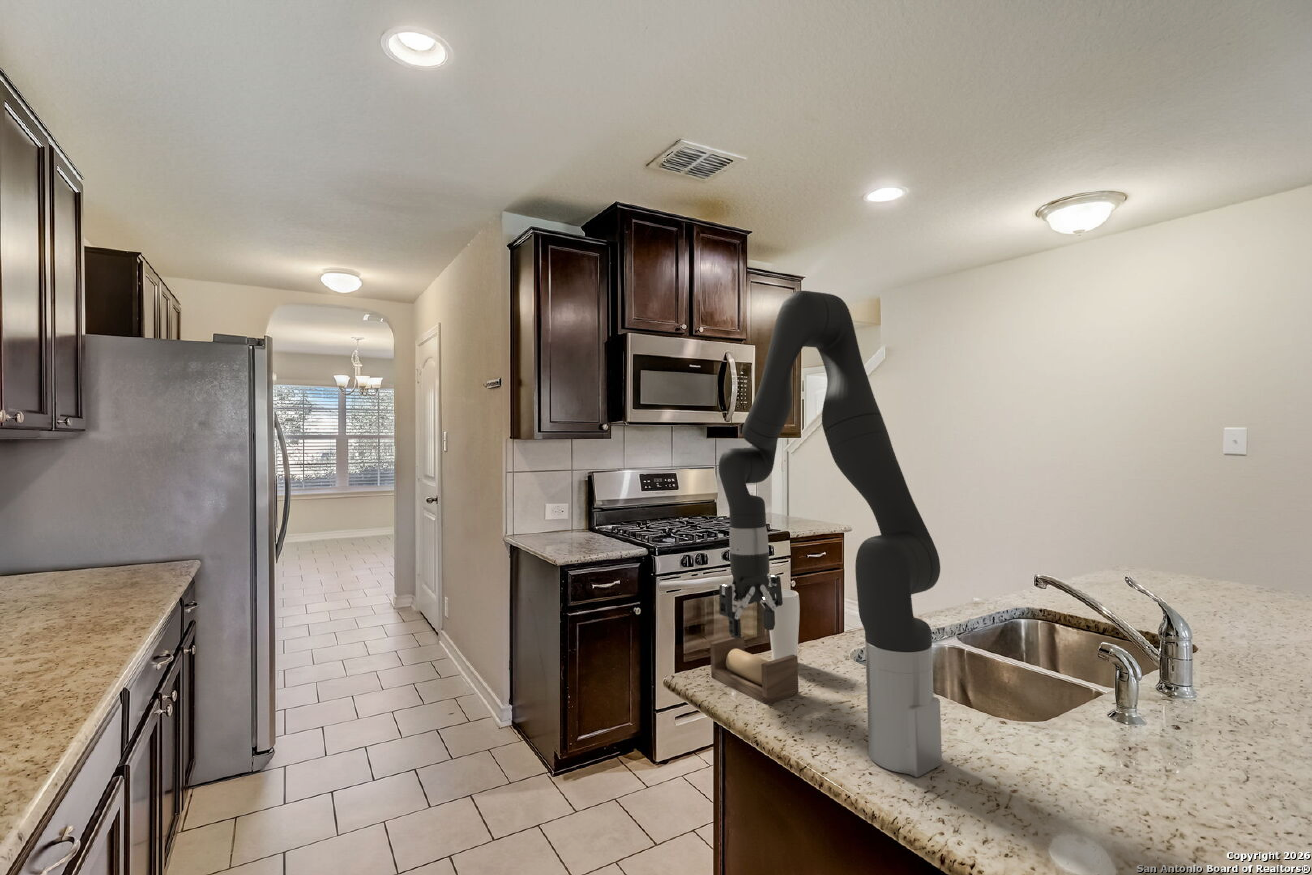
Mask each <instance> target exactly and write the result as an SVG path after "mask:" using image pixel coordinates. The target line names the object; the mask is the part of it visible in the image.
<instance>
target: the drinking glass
mask: <svg viewBox="0 0 1312 875" xmlns="http://www.w3.org/2000/svg"><path fill="white" fill-rule="evenodd" d="M781 590H782V601H783V604H782V605H781V606H778V607H776V610H775V626H774V629H773V630H768V631H769V640H770V649H771V650H770V651H771V661H773V660H776V659H779V658H783V657H786V656H789V655H796V656H798V650H799V649H798V648H799V629H800V628H799V627H800V611H801V609H800V596H799V593H798V592H797V591H796V590H793V589H792V590H791V589H783V588H781ZM768 593H769V591H768ZM775 598H776V594H775ZM798 657H799V656H798Z"/></svg>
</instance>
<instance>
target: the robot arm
mask: <svg viewBox="0 0 1312 875" xmlns="http://www.w3.org/2000/svg"><path fill="white" fill-rule="evenodd" d="M773 327H774V328H773V331H772V335H771V339H770V343H769V346H768V351H767V355H766V359H765V364H764V368H763V372H762V376H761V379H760V383H759V386H758V390H757V392H756V395H755V397H754V400H753V402H752V404H751V407H750V409H749V411H748V413H747V415H746V418H745V420H744V423H743V424H742V428H741V434H742V437H743V439H744V440H745V441H746V442H747V443H749V444H750V447H734V448H733V447H732V448H727V449H726V450H724V451H723V453H722V454H721V456H720V458H719V461H718V474H719V478H720V481H721V484H722V487H723V491H724V495H725V497H726V500H727V501H726V502H727V504H728V507H729V510H728V511H729V514H728V516H729V557H730V558H729V560H730V561H729V562H730V573H731V575H732V583H731V584H727V583H720V584H719V586H718V587H719V590H718V591H719V595H718V596H719V598H718V599H719V600H718V603H719V604H718V606H719V609H718V612H719V615H720V616H722V617H726V618H727V619H728V631H729V635H730V637H733V638H736V639H739V638H741V635H742V629H741V626H742V625H741V618H740V617H741V615H742V614H743V611H744V610H746V609H747V606H748V605H752V604H753V603H760V604H761V605H762V607H763V608H764V609H763V610H762V616H763V617H762V618H763V629H764V630H768V631H769V630H773V629H774V626H775V610H776V607H778V606H781V605H782V604H783V601H782V590H781V589H782V581H781V580H782V579H781V577H780V576H779V575H776V574H769V573H770V553H769V551H770V549H769V536H768V530H767V513H766V512H767V511H766V504H765V500H764V499H763V497H761V496H758V495H753V494H750V492H749V489H748V487H747V485H748V484H757V483H762V482H764V481H766V479H768V477H769V476H770V475H771V473H772V471H773V470H774V466H775V458H776V453H777V446H778V440H779V438H780V437H781V436H780V435H781V434H782V431H783V429H785V425H786V423H787V422H788V419H789V416H790V414H791V410H792V406H793V404H792V403H793V392H792V372H793V369H794V364H795V361H796V360H797V358H798V357H799V354H800V352H801V351H802V350H803V348H804V347H805V348H806V347H807V348H816V350H817V352H819V355H820V358H821V361H822V363H823V366H824V370H825V373H826V380H827V382H826V391H825V396H824V401H823V405H822V409H821V410H822V411H821V424H822V425H821V426H822V430H823V432H824V437H825V439H826V442H827V446H828V447H829V451H830V453H831V456H832V459H833V461H834V463H835V465H836V466H837V468H838V469H839V471H840V472H841V473H842V475H843V476H844V477H845V478H846V479H847V480H848V481H849V482H850V484H851V485H852V487H854V488H855V489H856V491H857V492H858V493H859V494H860V495H861V496H862V497H863V499H864V500H865V501H866V503H867V504H868V505H869V508H870V510H871V512H872V513H873V516H874V518H875V521H876V523H877V526H878V530H879V531H880V535H875V536H871V537H867V538H866V539H865V540H864V541H863V542H861V543H860V546H858V549H857V553H856V556H855V568H854V569H855V584H856V585H855V586H856V596H857V607H858V615H859V618H860V622H861V624H862V627H863V629H864V636H865V637H864V638H865V639H864V640H865V643H864V644H865V647H864V648H865V676H866V677H865V680H866V701H867V702H866V707H867V709H866V710H867V712H866V713H867V734H868V735H867V736H868V738H867V739H868V755H869V757H870V759H871V760H872V761H873V762H874V763H875V764H877V765H878V766H879V767H881V768H883V769H886V770H889V771H892V772H895V773H899V774H906V775H910V776H913V777H915V778H919V777H921V776H923V775H925V774H927V773H928V772H931V771H932V770H934V769H936V768H937V767H939V766H941V765H942V764H943V754H942V748H943V747H942V725H941V724H942V723H941V722H942V721H941V719H942V718H941V716H942V715H941V701H940V699H939V697H936V696H934V674H933V671H934V670H933V669H934V668H933V665H934V664H933V637H932V629H931V626H930V625H929V623H927V622H926V621H924V620H922V619H921V618H918V617H915V616H914V611H913V601H912V595H915V594H919V593H923V592H927V591H928V590H930V589H932V588H933V587H935V586H936V584H937V582H938V580H939V578H940V575H941V560H940V556H939V553H938V550H937V548H936V544H935V543H934V541H933V538H932V536H931V534H930V532H929V530H928V529H927V528H928V527H927V526H926V524H925V522H924V520H923V518H922V516H921V514H920V511H919V510H918V508H917V506H916V504H915V501H914V499H913V497H912V495H911V492H910V490H909V487H908V484H907V482H906V478H905V476H904V474H903V471H902V469H901V467H900V464H899V461H898V458H897V456H896V453H895V451H894V447H893V444H892V441H891V438H890V436H889V432H888V429H887V426H886V423H885V420H884V418H883V415H882V413H881V411H880V408H879V405H878V403H877V401H876V398H875V395H874V393H873V392H874V391H873V389H872V387H871V382H870V380H869V377H868V374H867V371H866V369H865V365H864V363H863V359H862V356H861V351H860V348H859V347H860V346H859V343H858V338H857V334H856V331H855V330H856V329H855V325H854V322H853V318H852V315H851V312H850V309H849V307H848V305H847V304H846V302H845V301H844V300H843V299H842V298H841V297H839V296H838V295H835V294H832V293H826V292H819V291H818V292H817V291H810V290H797V291H794V292H791V293H790V294H789V295H787V297H786V298H785V299H784V301H783V302H782V304H781V306H780V309H779V311H778V314H777V317H776V319H775V322H774V326H773ZM768 592H769V593H768ZM775 594H776V598H775Z"/></svg>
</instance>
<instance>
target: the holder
mask: <svg viewBox="0 0 1312 875" xmlns="http://www.w3.org/2000/svg"><path fill="white" fill-rule="evenodd" d="M709 645H710V670H711V671H710V672H711V675H710V676H711V678H713V679H714V680H717V681H719V682H720V683H722V684H725V685H727V686H729V687H731V688H733V689H735V690H736V691H739V692H740V693H743V694H744V695H747V696H749V697H751V698H753V697H754V698H753V699H754V700H757V701H759V702H761V701H762V702H761V703H763V702H764V703H763V704H765V705H771V704H772V702H773V703H776V702H779V701H781V700H784V698H785V699H788V698H789V697H790V698H791V697H792V696H793V697H794V696H795V695H796V696H797V695H799V694H798V693H799V688H800V687H799V663H798V662H799V661H798V660H799V659H798V657H799V656H796V655H789V656H786V657H783V658H779V659H776V660H773V661H772V660H770V661H769V660H768V661H769V662H766V663H763V664H761V666H762V686H761V685H759V684H757V683H755V682H753V681H751V680H748V679H746V678H744V677H742V676H740V675H737V674H735V673H733V672H731V671H729V670H728V668H727V666H726V658H727V655H728V654H729V652H730V651H731V650H733V649H740V650H742V651H745V652H746V650H745V648H746V647H745V635H743V634H741V638H739V639H736V638H733V637H732V636H730V637H726V638H723V639H719V640H715V641H711V642H710V643H709ZM787 697H788V698H787ZM775 701H776V702H775Z"/></svg>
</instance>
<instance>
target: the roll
mask: <svg viewBox="0 0 1312 875" xmlns="http://www.w3.org/2000/svg"><path fill="white" fill-rule="evenodd" d="M766 662H769V660H766V659H765V658H762V657H760V656H757V655H754V654H752V653H750V652H747V651H746V650H745V651H742V650H740V649H733V650H731V651H730V652H729V654H728V655H727V658H726V666H727V668H728V670H729V671H731V672H733V673H735V674H737V675H740V676H742V677H744V678H746V679H748V680H751V681H753V682H755V683H757V684H759V685H761V686H762V666H761V664H763V663H766Z"/></svg>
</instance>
